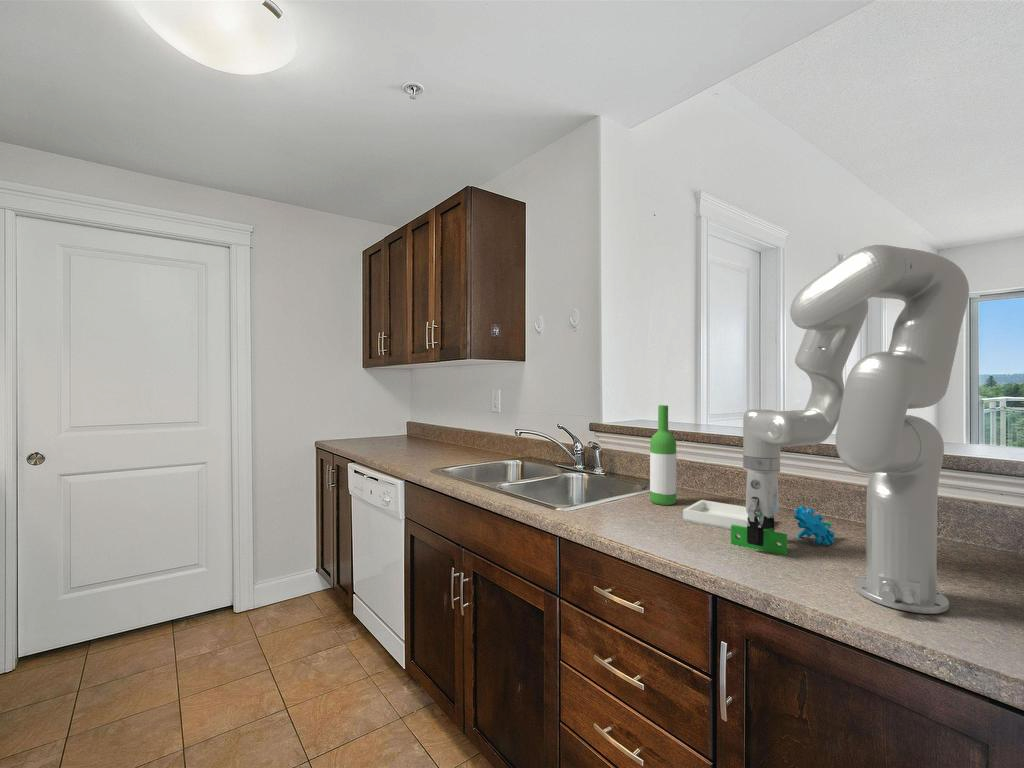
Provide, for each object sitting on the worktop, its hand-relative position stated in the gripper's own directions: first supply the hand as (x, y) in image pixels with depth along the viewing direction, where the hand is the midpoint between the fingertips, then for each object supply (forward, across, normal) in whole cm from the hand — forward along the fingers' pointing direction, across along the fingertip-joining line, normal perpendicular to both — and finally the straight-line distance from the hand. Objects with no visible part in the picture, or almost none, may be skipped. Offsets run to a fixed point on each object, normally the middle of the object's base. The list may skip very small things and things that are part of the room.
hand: (761, 539), depth 110 cm
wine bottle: (+2, +23, +33) cm, 40 cm away
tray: (+2, +15, +12) cm, 19 cm away
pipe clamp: (+2, -1, 0) cm, 2 cm away
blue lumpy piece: (+2, +12, -9) cm, 15 cm away
